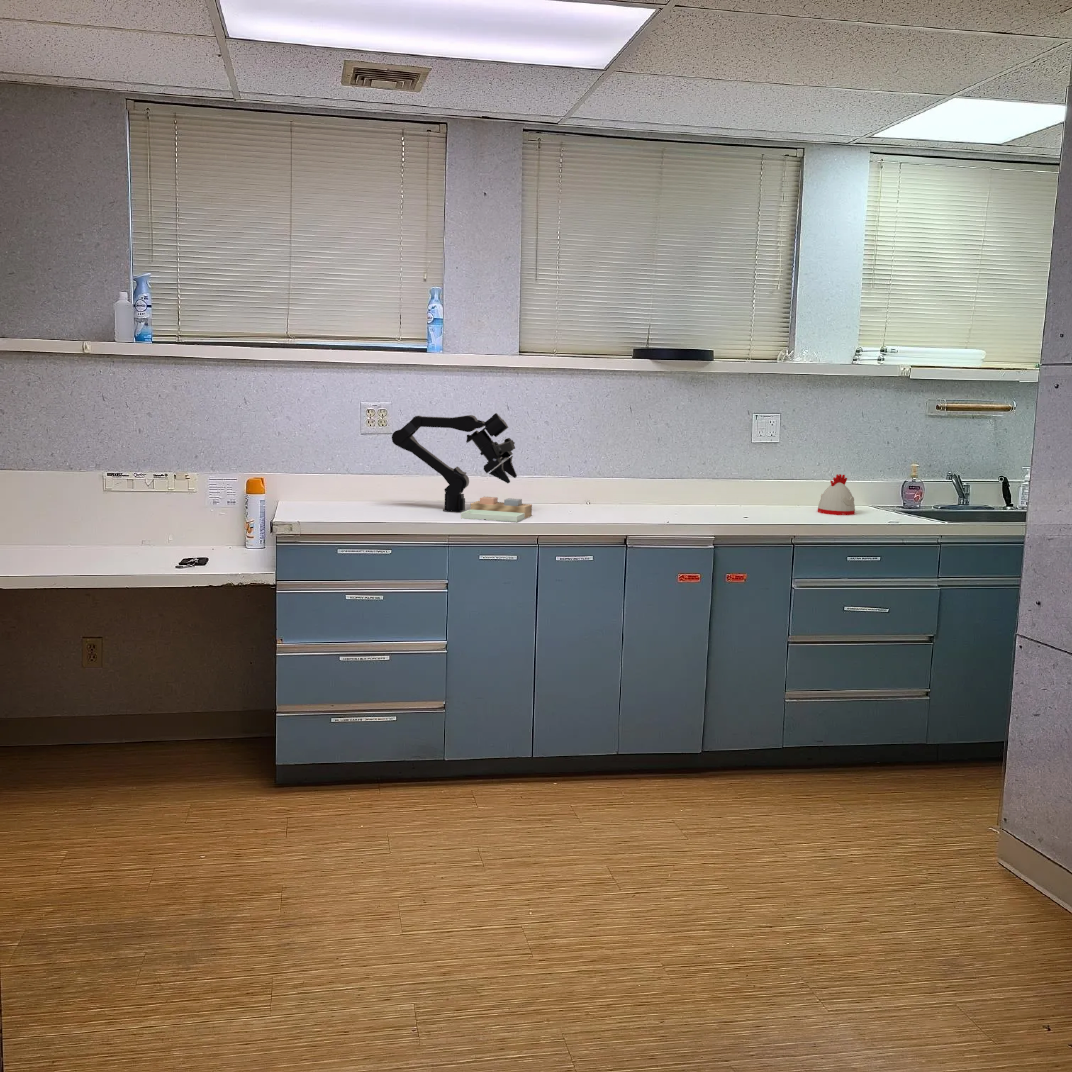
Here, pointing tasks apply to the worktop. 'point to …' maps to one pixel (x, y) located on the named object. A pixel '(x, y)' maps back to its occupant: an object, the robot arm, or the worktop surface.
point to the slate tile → (512, 502)
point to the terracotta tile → (489, 500)
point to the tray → (493, 515)
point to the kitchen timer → (837, 498)
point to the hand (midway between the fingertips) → (512, 479)
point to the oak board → (503, 508)
